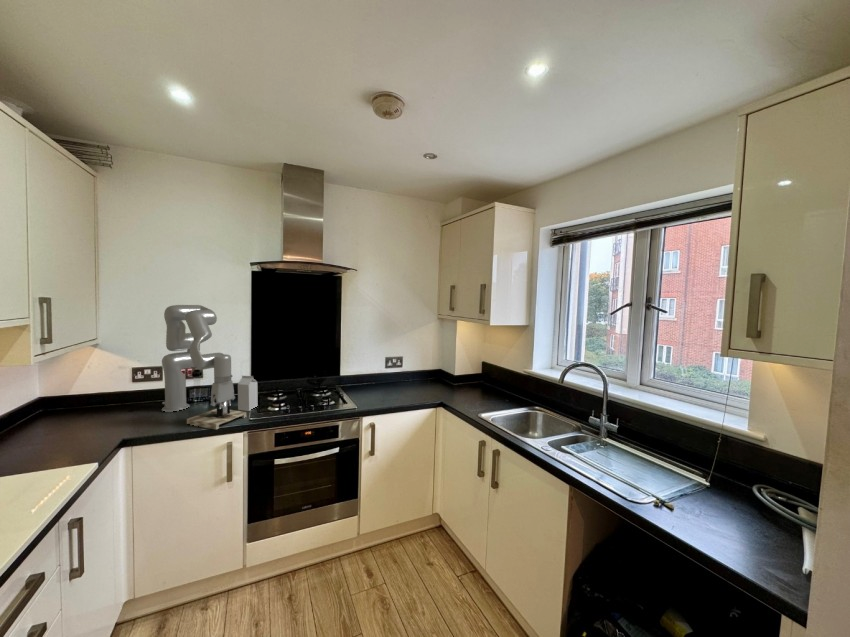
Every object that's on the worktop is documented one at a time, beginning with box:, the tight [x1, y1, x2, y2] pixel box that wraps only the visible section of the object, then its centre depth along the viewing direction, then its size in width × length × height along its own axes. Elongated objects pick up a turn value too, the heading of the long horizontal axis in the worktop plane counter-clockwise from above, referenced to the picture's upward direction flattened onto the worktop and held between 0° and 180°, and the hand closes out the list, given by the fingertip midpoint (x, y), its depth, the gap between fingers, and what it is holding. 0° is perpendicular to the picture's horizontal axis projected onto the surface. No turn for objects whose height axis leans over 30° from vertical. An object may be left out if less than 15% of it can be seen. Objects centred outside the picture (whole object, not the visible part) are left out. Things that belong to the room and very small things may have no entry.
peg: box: [218, 401, 231, 425], centre depth 172 cm, size 6×6×11 cm
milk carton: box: [237, 375, 259, 412], centre depth 192 cm, size 7×7×19 cm
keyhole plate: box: [186, 408, 247, 430], centre depth 173 cm, size 19×18×3 cm
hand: (223, 414), depth 172 cm, fingers closed on peg, 3 cm apart
